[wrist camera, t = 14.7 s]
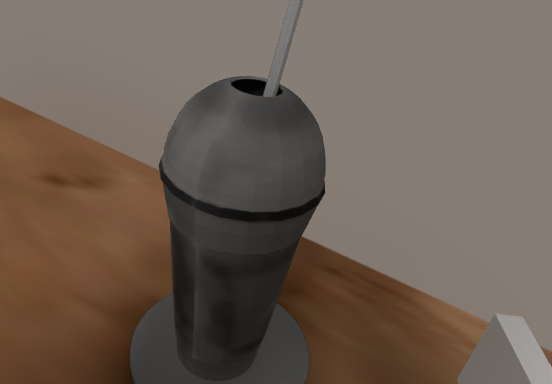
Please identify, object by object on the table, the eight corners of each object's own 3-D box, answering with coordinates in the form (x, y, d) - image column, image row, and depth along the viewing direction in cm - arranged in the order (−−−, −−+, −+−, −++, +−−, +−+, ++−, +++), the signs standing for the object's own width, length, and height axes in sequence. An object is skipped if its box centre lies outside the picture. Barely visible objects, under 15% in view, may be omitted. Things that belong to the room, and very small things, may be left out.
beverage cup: (138, 312, 28) (146, -70, 18) (252, 289, 31) (317, -47, 21) (169, 423, 23) (208, -30, 12) (302, 382, 26) (424, -6, 15)
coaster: (302, 300, 32) (304, 293, 32) (312, 447, 24) (315, 440, 23) (152, 281, 31) (152, 274, 31) (106, 427, 23) (105, 419, 22)
